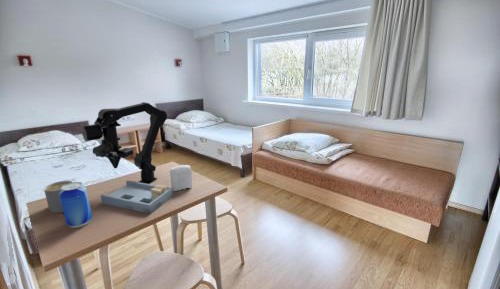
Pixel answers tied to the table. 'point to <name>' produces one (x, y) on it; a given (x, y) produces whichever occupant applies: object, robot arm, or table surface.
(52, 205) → the coffee mug
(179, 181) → the photo printer
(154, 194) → the beech block
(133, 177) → the table surface
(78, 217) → the beer can
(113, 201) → the box
